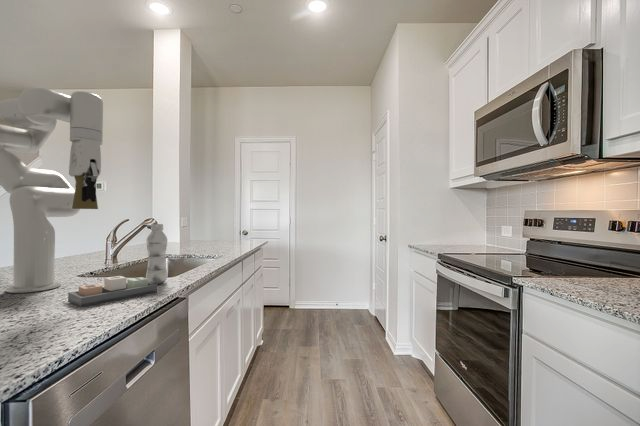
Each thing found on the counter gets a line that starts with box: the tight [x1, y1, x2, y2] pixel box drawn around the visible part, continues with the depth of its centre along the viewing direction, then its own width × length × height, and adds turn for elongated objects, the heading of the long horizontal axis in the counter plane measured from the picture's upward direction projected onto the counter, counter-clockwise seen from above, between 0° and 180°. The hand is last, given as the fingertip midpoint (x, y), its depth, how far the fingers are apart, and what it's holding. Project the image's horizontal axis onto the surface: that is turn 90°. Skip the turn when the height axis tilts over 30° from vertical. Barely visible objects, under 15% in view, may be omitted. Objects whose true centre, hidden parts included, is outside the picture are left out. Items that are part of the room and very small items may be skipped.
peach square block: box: [78, 283, 103, 297], centre depth 84 cm, size 4×4×3 cm
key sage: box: [126, 276, 148, 289], centre depth 94 cm, size 4×4×3 cm
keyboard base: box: [67, 282, 158, 309], centre depth 89 cm, size 9×19×2 cm, turn 145°
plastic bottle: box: [145, 223, 168, 285], centre depth 106 cm, size 6×7×20 cm
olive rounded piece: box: [72, 174, 99, 210], centre depth 90 cm, size 6×6×11 cm
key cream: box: [103, 275, 127, 291], centre depth 89 cm, size 4×4×3 cm
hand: (85, 200), depth 90 cm, fingers closed on olive rounded piece, 4 cm apart
